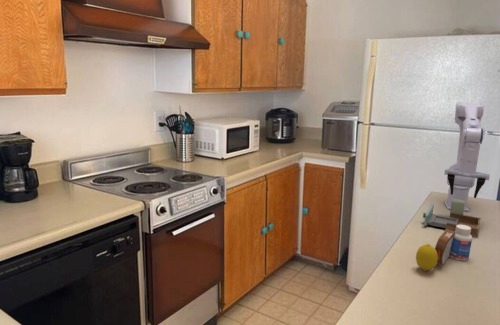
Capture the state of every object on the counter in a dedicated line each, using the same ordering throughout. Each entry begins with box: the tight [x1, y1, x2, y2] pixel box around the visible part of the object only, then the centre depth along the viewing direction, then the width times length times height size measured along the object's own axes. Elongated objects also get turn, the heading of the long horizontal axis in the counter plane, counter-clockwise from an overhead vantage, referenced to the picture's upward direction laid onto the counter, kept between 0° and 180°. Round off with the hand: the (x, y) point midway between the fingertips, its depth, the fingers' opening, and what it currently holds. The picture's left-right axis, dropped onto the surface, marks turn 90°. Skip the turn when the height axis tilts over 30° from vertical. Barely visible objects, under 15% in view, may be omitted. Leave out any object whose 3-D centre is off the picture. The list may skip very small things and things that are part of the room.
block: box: [449, 199, 466, 216], centre depth 152 cm, size 4×4×7 cm
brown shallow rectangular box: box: [444, 213, 482, 239], centre depth 142 cm, size 13×10×3 cm
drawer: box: [422, 204, 459, 229], centre depth 146 cm, size 15×11×4 cm
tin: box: [434, 228, 456, 266], centre depth 117 cm, size 15×3×8 cm, turn 141°
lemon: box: [415, 243, 438, 272], centre depth 110 cm, size 6×6×8 cm
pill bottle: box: [449, 225, 473, 261], centre depth 119 cm, size 6×5×10 cm
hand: (463, 195), depth 147 cm, fingers open, 7 cm apart
